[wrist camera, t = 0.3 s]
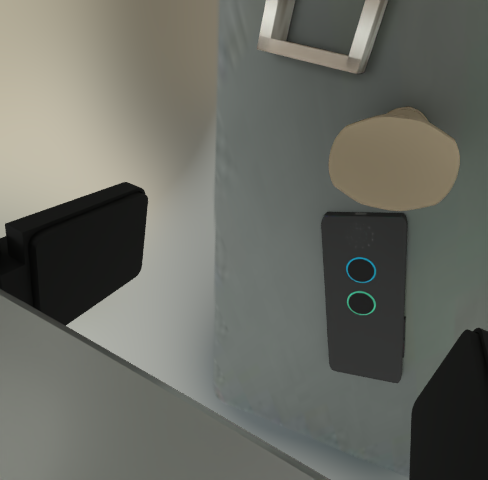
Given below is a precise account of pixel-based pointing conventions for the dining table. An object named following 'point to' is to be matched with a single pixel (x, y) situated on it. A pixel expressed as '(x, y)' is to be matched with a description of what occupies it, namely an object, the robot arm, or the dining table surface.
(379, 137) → the handle
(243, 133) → the dining table surface
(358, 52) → the wooden wall shelf
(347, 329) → the smart home device
